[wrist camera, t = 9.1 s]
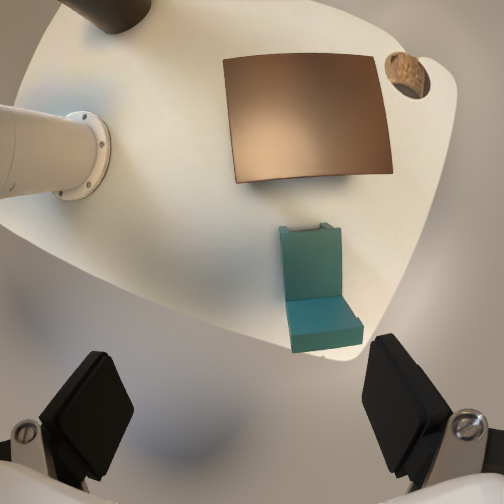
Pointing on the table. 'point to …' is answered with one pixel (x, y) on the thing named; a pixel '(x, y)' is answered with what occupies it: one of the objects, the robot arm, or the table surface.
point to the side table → (306, 116)
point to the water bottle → (111, 13)
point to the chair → (316, 291)
